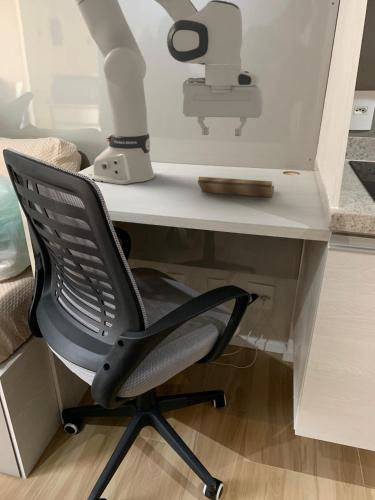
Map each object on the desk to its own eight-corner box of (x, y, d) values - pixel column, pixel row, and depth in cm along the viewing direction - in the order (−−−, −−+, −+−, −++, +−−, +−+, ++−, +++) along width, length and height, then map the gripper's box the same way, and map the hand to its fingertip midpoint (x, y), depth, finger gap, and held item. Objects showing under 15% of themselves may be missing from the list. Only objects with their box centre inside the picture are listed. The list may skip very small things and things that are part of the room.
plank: (197, 181, 109) (198, 176, 109) (202, 192, 115) (203, 187, 116) (271, 186, 104) (272, 181, 104) (271, 197, 110) (272, 192, 111)
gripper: (178, 78, 97) (180, 136, 103) (262, 77, 92) (258, 138, 98) (185, 77, 103) (186, 132, 109) (265, 76, 97) (261, 134, 103)
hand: (221, 135), depth 103 cm, fingers open, 7 cm apart
